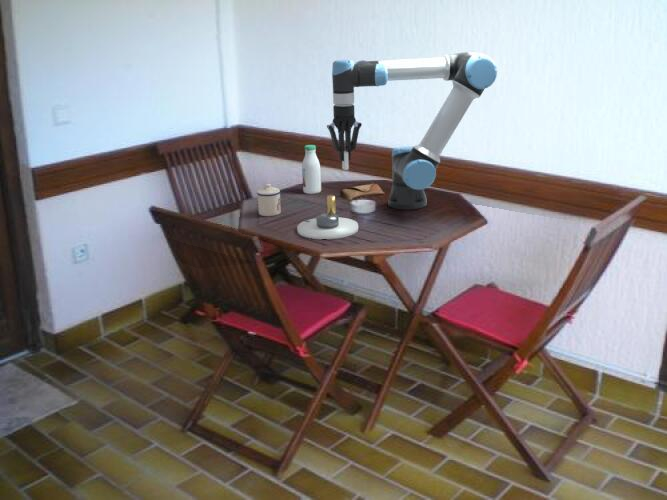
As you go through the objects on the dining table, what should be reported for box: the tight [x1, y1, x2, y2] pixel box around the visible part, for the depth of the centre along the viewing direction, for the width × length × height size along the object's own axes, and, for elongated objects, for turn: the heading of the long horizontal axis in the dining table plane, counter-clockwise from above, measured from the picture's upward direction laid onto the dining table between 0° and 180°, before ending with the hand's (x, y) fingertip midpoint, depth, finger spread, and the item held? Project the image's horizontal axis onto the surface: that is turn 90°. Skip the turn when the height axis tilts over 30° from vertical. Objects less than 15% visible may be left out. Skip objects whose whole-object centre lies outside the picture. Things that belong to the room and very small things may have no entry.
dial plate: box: [296, 216, 359, 240], centre depth 281 cm, size 22×22×2 cm
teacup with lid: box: [256, 183, 282, 217], centre depth 304 cm, size 12×9×12 cm
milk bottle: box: [301, 144, 322, 195], centre depth 329 cm, size 8×8×20 cm
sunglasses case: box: [339, 182, 386, 201], centre depth 325 cm, size 18×7×7 cm, turn 117°
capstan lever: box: [315, 194, 339, 228], centre depth 282 cm, size 14×8×8 cm, turn 170°
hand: (345, 169), depth 286 cm, fingers closed
